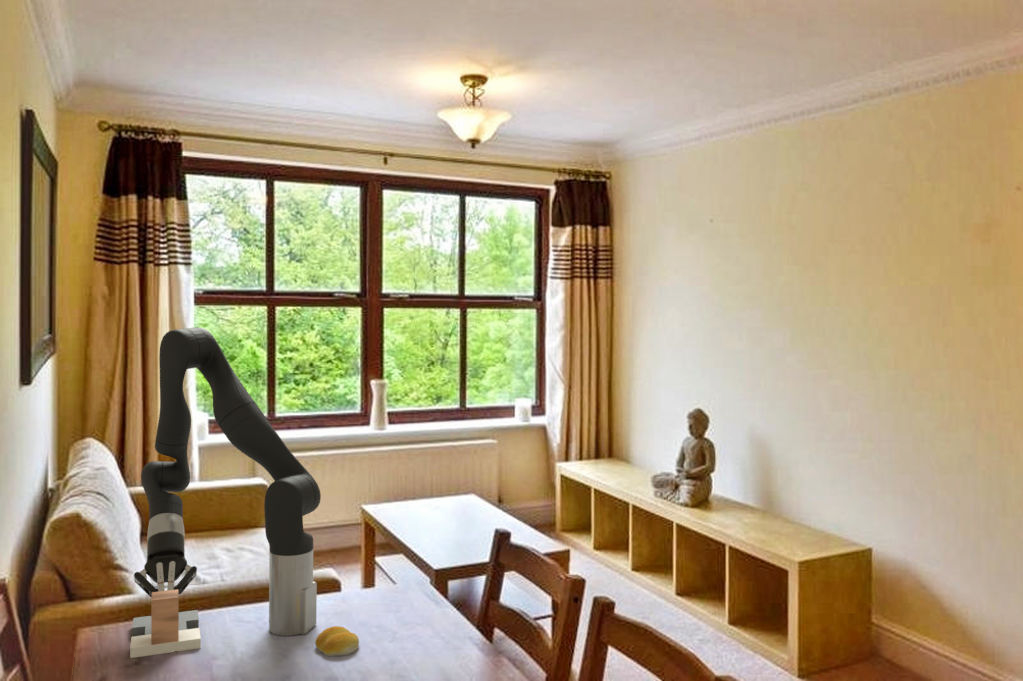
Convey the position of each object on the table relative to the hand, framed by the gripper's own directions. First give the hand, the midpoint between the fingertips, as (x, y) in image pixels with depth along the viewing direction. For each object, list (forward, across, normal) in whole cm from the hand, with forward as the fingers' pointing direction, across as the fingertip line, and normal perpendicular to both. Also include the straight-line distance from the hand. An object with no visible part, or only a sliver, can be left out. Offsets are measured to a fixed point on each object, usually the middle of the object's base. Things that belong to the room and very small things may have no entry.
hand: (165, 612), depth 166 cm
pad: (+6, 0, +2) cm, 7 cm away
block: (+5, 0, +1) cm, 5 cm away
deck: (0, 0, +8) cm, 8 cm away
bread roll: (+16, +32, -6) cm, 37 cm away
